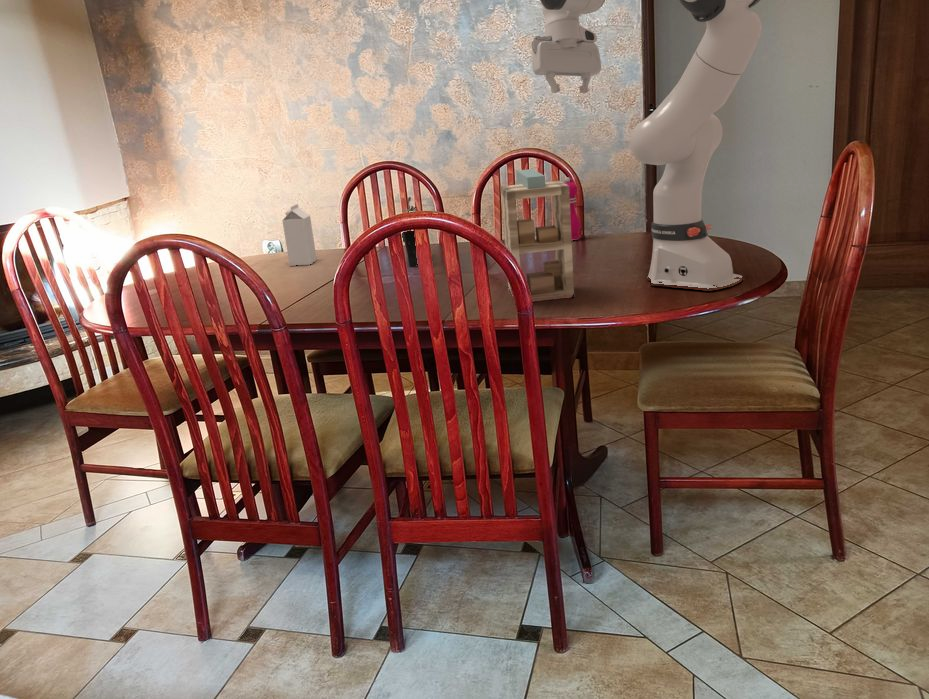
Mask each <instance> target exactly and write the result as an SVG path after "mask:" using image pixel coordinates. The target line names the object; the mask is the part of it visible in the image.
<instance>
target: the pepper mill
mask: <svg viewBox="0 0 929 699" xmlns="http://www.w3.org/2000/svg"><path fill="white" fill-rule="evenodd" d="M564 183H565V184H567V185H569V196H570V217H571V238H572V239H577V238H580V239H581V236H580V235H581V234H580V233H579V232H580V230H581V228H582V226H581V224H582V223H581V221H580V218H579V216H578V214H577V212H576V202H577V197H576V195H577V193H578V187H577V185H576V184H575V183H574V182H572V181H571V178H570V177H569V176H568V177H567V176H566V177H565V178H564Z"/></svg>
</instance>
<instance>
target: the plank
mask: <svg viewBox="0 0 929 699" xmlns="http://www.w3.org/2000/svg"><path fill="white" fill-rule="evenodd" d="M516 182H518V183H519V184H522V185H523V186H525V187H526V188H528V189H531V188H541V187H545V182H546V175H544V174H542V173H540V172H539V171H537V170H535V169H533V168H530V169H519V170H516Z"/></svg>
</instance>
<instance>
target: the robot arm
mask: <svg viewBox="0 0 929 699" xmlns="http://www.w3.org/2000/svg"><path fill="white" fill-rule="evenodd" d="M539 1H540V2H541V11H542V14H543V16H544V34H545V35H543V36H541V35H536V36H534V37H533V39H532V41H531V43H530V45H531V62H532V63H531V66H532V72H533V73H534V74H535V76H545V80H546V81H547V84H548V85H549V86H550V91H551V93H552V94H557V93H560V91H561V88H560V86H561V85H560V84H559V83H557V81H556V79H555V78H556V76H559V77H560V76H563V77H564V76H565V77H580V80H581V81H582V84H581V85H580V86H579V87H578V88H579V93H580V94H586V93H587V94H588V93H589V84H590V80H591V78H592V77H595V76H596V75H598V74H599V73H600V72H601V70H602V62H601V61H602V60H601V55H600V50H599V47H598V45H597V41H598V36H597V34H596V32H594V31H591V30H589V29H587V28H585V27H584V26H582V25H581V24H580V19H579V18H580V16H581V15H586V14H591V13H594V12H596V11H599V9H601V7H602V6H603V5H604V4H605V2H606V0H539ZM678 1H679V2H680V4H681V5H682V6H683V7H684V9H686V10H687V11H689V12H690V13H691V15H692V16H693V18H694V20H696V21H697V22H698V23H699V22H700V23H706V28H705V32H704V34H703V36H702V38H701V41H700V42H699V43H698V46H697V48H696V49H695V52H694V53H693V55H692V57H691V58H690V61H689V62H688V64H687V66H686V68H685V70H684V72H683V74H682V75H681V77H680V79H679V80H678V82H677V83H676V84H675V85H674V87H673V88H672V90H671V91H670V92H669V93H668V94H667V95H666V96H665V98H664V99H663V100H662V102H661V103H660V104H659V105H658V106H657V107H656V109H655V110H653V112H651V113H650V114H649V115H648V116H647V117H646V118H645V119H643V120H642V121H640V122H639V123H637V125H635V127H634V128H633V130H632V132H631V133H630V134H631V135H630V139H629V140H630V150H631V153H632V155H633V157H634V158H635V159H636V160H637V161H638V162H640V163H641V164H644V165H645V164H647V165H654V166H664V165H665V167H664V170H663V174H662V176H661V178H660V180H659V181H658V182H657V183H656V185H655V187H654V188H653V193H652V194H653V195H652V197H653V198H652V201H653V203H652V206H653V210H652V211H653V212H652V213H653V217H652V218H653V221H652V222H651V237H652V238H651V239H652V241H653V242H652V254H651V261H650V268H649V272H648V276H647V278H648V277H649V278H650V279H651V283H653V284H664V285H677V286H688V287H698V288H707V289H709V288H717V287H723V286H727V285H730V284H732V283H735V282H737V281H739V280H740V279H734V278H736V277H739V278H742V277H743V275H741V274H736V273H734V269H733V262H732V258H731V255H730V254H729V253H728V252H727V251H726V250H724V249H723V248H721V247H720V246H719V245H718V244H717V243H716V242H715V241H713V240H712V238H710V236H709V234H708V233H709V232H708V231H709V230H711V229H712V227H711V226H712V224H710V223H709V224H707V225H706V224H705V222H704V220H703V219H702V202H703V200H702V199H703V186H704V181H705V177H706V173H707V169H708V166H709V163H710V160H711V158H712V156H713V154H714V152H715V151H716V149H717V148H718V147H719V146H720V143H721V142H722V140H723V132H724V130H723V125H722V123H721V120H720V118H718V116H716V115H715V114H714V113H715V112H717V111H718V110H720V109H721V108H722V107H723V106H724V105H725V104H726V102H727V100H728V99H729V97H730V96H731V94H732V93H733V91H734V89H735V87H736V85H737V83H738V82H739V81H740V78H741V77H742V74H743V73H744V71H745V70H746V68H747V66H748V64H749V62H750V60H751V58H752V56H753V54H754V52H755V49H756V47H757V45H758V42H759V40H760V37H761V34H762V29H763V24H762V21H761V19H760V17H759V15H758V14H757V13H756V12H755V11H753V10H752V9H751V8H753V7H755V6H756V5H757V4H758V3H759V2H760V1H761V0H678ZM659 282H662V283H659ZM713 285H715V286H713ZM716 286H717V287H716Z"/></svg>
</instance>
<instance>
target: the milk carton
mask: <svg viewBox="0 0 929 699" xmlns="http://www.w3.org/2000/svg"><path fill="white" fill-rule="evenodd" d="M282 227H283V233H284V240H285V245H286V250H287V257H288V262H289V266H290V267H294V266H296V265H298V266H309V265H310V264H311V265H312V264H314V263H315V262H316V261H317V260H318V257H317V253H316V246H315V239H314V232H313V225H312V220H311V215H310V214H308V212H306V211H305V210H303V209H302V208H300V207H299V203H296V204H293V205H292V206H290V208H289V209H287V211H286V212H285V217H284V218H283V219H282ZM313 262H314V263H313Z"/></svg>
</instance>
